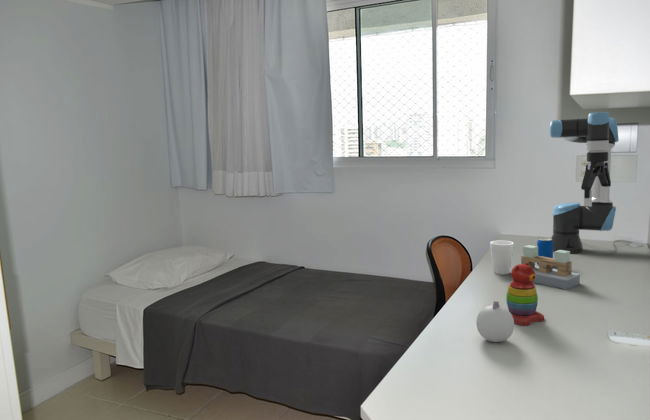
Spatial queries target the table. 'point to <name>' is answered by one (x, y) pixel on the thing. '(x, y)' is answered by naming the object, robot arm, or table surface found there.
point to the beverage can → (545, 247)
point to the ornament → (495, 323)
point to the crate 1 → (530, 251)
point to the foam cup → (501, 256)
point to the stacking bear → (523, 296)
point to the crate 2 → (562, 256)
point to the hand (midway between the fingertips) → (595, 204)
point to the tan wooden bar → (548, 265)
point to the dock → (556, 279)
